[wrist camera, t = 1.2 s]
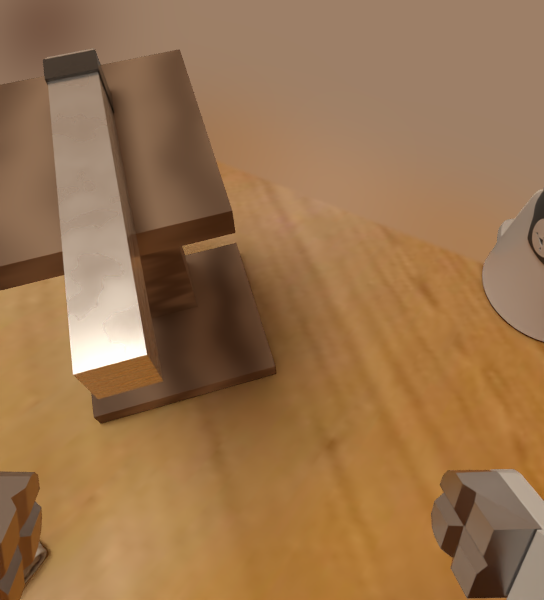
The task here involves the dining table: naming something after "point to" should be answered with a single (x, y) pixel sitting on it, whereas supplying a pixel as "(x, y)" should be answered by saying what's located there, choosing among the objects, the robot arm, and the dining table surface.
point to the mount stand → (142, 227)
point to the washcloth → (35, 562)
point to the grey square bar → (98, 234)
